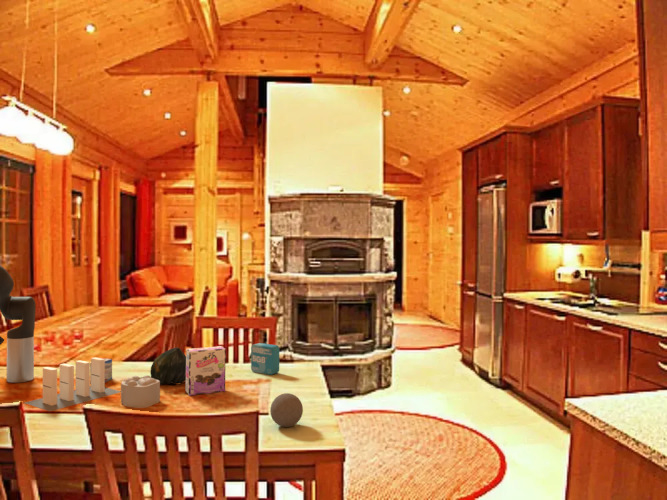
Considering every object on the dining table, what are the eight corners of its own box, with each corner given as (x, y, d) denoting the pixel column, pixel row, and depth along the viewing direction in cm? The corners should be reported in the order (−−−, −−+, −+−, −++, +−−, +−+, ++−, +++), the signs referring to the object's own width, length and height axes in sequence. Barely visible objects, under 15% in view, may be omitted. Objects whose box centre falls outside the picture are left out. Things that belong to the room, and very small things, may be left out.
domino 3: (84, 396, 188) (84, 363, 188) (75, 394, 191) (75, 361, 190) (89, 395, 189) (89, 362, 189) (80, 392, 192) (80, 360, 192)
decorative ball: (264, 429, 160) (264, 396, 160) (279, 418, 169) (279, 387, 169) (294, 433, 156) (294, 400, 156) (307, 423, 166) (308, 391, 165)
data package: (250, 371, 228) (251, 344, 228) (257, 369, 232) (257, 342, 232) (273, 375, 223) (273, 347, 222) (279, 373, 226) (279, 345, 226)
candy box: (188, 396, 192) (188, 351, 192) (185, 392, 197) (185, 348, 197) (225, 391, 198) (226, 348, 198) (221, 387, 204) (221, 345, 203)
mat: (23, 404, 180) (23, 402, 180) (95, 386, 203) (95, 384, 203) (49, 412, 172) (50, 411, 172) (122, 392, 195) (121, 391, 195)
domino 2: (68, 401, 183) (68, 366, 182) (59, 398, 186) (59, 364, 185) (73, 399, 184) (73, 365, 184) (64, 397, 187) (64, 363, 187)
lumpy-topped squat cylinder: (143, 409, 177) (144, 383, 177) (113, 404, 182) (113, 379, 181) (163, 400, 187) (163, 376, 187) (134, 396, 191) (134, 372, 191)
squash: (141, 368, 210) (155, 343, 204) (174, 363, 221) (189, 340, 215) (153, 397, 203) (168, 373, 196) (187, 391, 214) (202, 367, 207)
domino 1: (51, 405, 178) (51, 370, 177) (42, 402, 181) (42, 367, 180) (57, 404, 179) (57, 369, 179) (47, 401, 182) (47, 366, 182)
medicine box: (100, 385, 204) (100, 363, 204) (89, 384, 205) (89, 362, 205) (112, 380, 212) (112, 358, 212) (102, 379, 213) (102, 358, 213)
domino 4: (100, 392, 193) (100, 360, 193) (90, 390, 196) (90, 358, 196) (104, 391, 194) (104, 359, 194) (95, 389, 197) (95, 357, 197)
